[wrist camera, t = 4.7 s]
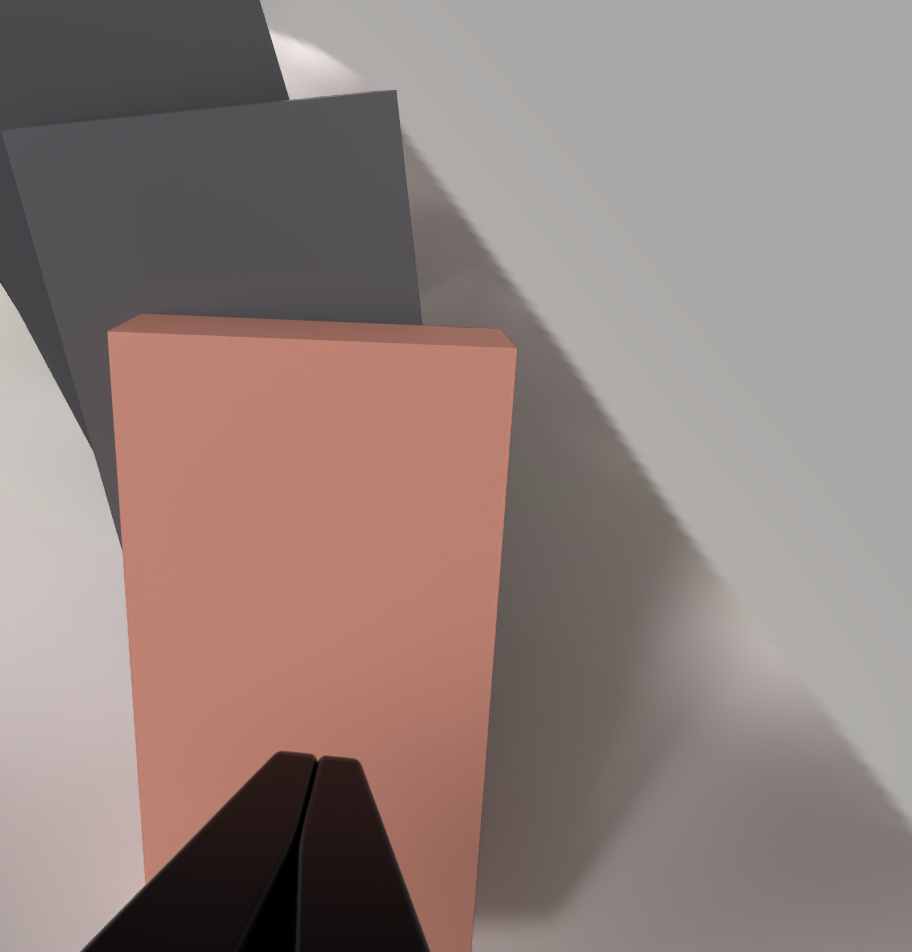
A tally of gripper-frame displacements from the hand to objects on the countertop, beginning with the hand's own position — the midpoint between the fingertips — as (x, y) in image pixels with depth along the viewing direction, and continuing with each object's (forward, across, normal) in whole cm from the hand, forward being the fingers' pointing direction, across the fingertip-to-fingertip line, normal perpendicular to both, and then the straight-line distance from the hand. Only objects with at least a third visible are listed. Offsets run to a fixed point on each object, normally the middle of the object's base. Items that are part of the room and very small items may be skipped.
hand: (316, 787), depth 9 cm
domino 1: (+4, 0, +6) cm, 7 cm away
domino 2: (+6, +1, +4) cm, 7 cm away
